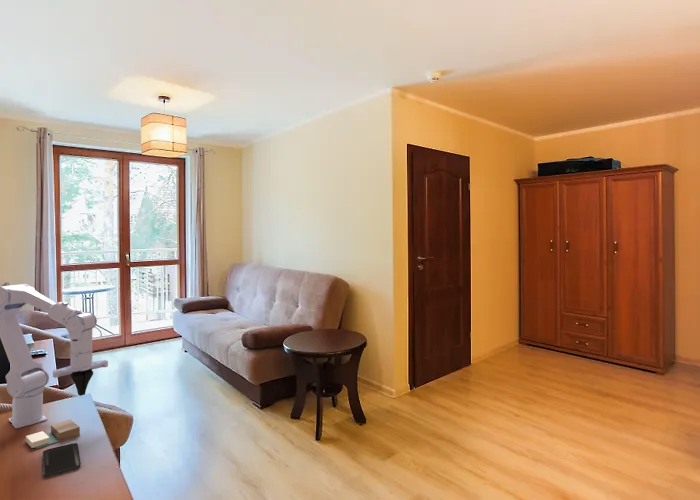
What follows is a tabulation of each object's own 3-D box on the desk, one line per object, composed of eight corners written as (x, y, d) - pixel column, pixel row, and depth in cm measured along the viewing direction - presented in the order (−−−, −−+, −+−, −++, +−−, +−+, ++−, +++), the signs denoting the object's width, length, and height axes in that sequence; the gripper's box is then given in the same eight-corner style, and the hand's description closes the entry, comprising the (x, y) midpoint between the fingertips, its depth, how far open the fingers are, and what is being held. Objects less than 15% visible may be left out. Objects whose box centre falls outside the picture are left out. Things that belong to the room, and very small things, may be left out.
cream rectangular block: (42, 431, 117) (42, 436, 117) (25, 436, 114) (25, 441, 114) (49, 437, 114) (49, 442, 114) (32, 442, 111) (31, 448, 111)
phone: (77, 442, 113) (81, 465, 101) (77, 446, 113) (81, 470, 101) (42, 450, 109) (41, 476, 97) (42, 454, 109) (41, 480, 97)
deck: (50, 433, 120) (50, 424, 120) (70, 427, 124) (70, 419, 124) (59, 441, 115) (59, 433, 115) (79, 435, 119) (79, 427, 119)
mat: (28, 440, 116) (28, 438, 116) (49, 433, 120) (49, 432, 120) (36, 449, 111) (36, 448, 111) (58, 442, 115) (58, 441, 115)
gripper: (58, 359, 118) (58, 404, 118) (111, 349, 129) (111, 391, 129) (50, 354, 122) (50, 398, 122) (103, 345, 133) (103, 385, 134)
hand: (81, 394), depth 126 cm, fingers closed
